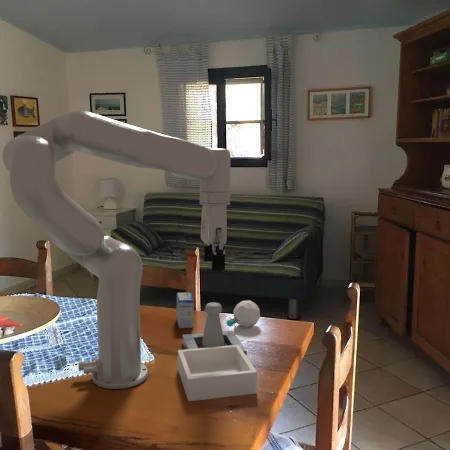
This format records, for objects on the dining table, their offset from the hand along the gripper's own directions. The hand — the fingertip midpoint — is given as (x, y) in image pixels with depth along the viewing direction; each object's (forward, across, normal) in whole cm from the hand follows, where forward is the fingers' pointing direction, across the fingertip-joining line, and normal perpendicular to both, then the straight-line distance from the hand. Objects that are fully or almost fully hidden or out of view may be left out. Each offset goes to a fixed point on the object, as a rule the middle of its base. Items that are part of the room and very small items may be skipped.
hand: (214, 265), depth 123 cm
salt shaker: (+23, 0, 0) cm, 23 cm away
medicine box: (+23, -22, -4) cm, 32 cm away
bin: (+23, +16, -3) cm, 28 cm away
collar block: (+23, 0, 0) cm, 23 cm away
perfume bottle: (+23, -15, +12) cm, 30 cm away
